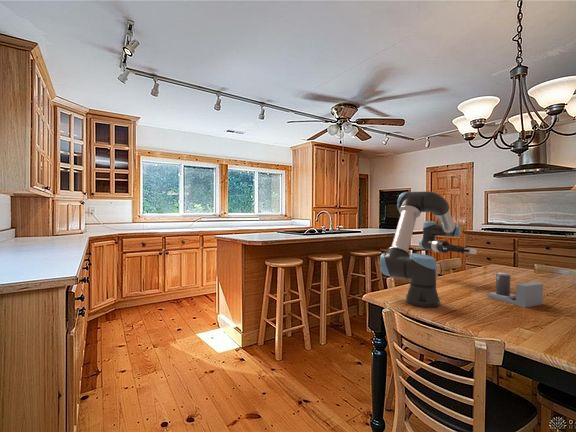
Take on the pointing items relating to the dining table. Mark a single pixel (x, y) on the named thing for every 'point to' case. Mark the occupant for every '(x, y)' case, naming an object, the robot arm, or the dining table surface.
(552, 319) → the dining table surface
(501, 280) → the knob
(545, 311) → the dining table surface
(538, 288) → the mount
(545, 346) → the dining table surface
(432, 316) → the dining table surface
